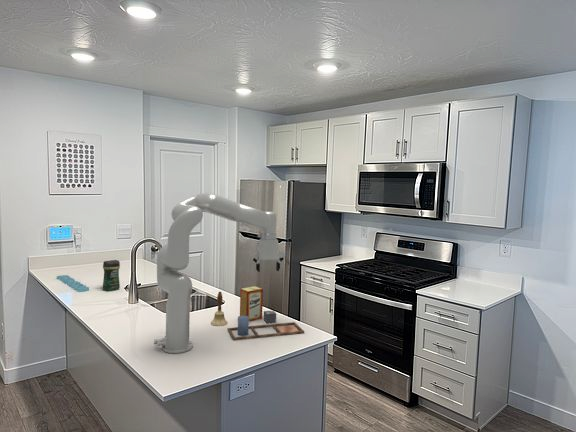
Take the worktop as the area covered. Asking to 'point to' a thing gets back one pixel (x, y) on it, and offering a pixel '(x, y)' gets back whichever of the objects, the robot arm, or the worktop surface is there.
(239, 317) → the blue cylinder
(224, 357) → the worktop surface
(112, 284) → the coffee jar
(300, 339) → the worktop surface
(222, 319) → the hand bell
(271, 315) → the die
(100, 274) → the worktop surface
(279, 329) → the board
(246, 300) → the baking soda box
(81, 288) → the letter sign
